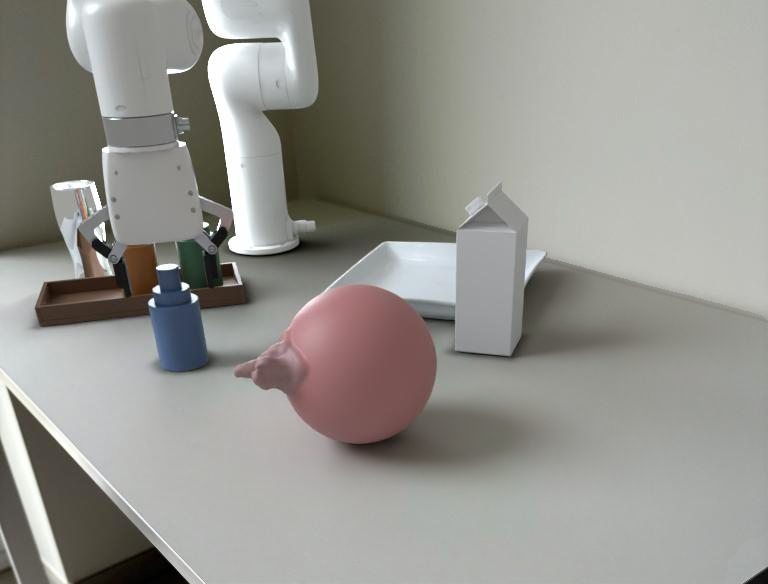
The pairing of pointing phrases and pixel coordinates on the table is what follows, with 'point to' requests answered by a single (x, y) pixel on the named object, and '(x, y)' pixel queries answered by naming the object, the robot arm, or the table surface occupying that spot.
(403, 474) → the table surface
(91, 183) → the beer glass
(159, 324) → the blue bottle
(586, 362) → the table surface
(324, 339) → the balloon
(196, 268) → the green bottle
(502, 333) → the milk carton
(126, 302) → the tray
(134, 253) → the amber bottle
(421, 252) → the square plate
